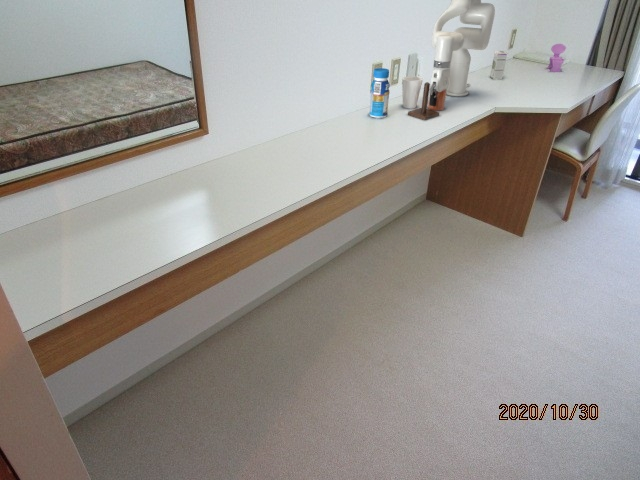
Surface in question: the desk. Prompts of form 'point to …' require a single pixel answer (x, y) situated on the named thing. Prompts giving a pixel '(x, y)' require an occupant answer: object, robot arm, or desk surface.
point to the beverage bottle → (379, 93)
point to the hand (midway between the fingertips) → (436, 103)
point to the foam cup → (411, 91)
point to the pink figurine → (556, 58)
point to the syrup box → (498, 64)
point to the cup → (439, 101)
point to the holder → (424, 107)
